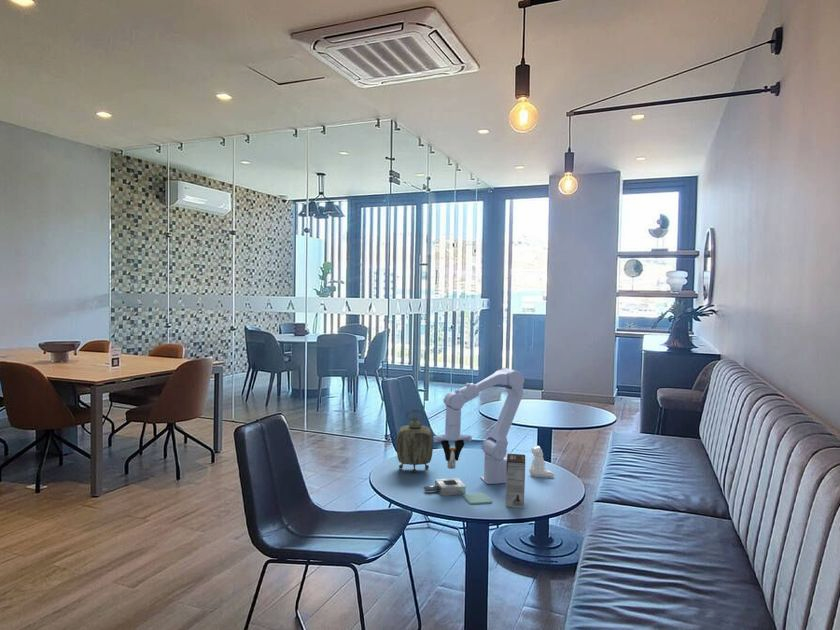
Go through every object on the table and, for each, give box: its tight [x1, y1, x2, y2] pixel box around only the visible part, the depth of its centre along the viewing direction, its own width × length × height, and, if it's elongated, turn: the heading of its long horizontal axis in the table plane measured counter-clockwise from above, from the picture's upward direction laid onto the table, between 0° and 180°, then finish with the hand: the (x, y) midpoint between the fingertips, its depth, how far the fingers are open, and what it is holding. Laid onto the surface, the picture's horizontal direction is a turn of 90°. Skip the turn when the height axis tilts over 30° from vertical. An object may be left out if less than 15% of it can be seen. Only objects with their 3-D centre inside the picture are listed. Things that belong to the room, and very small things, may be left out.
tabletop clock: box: [396, 409, 434, 474], centre depth 221 cm, size 14×9×25 cm, turn 92°
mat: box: [462, 492, 493, 506], centre depth 191 cm, size 8×8×1 cm
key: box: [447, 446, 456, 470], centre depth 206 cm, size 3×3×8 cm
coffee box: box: [505, 453, 526, 509], centre depth 189 cm, size 9×6×16 cm
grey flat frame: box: [423, 477, 467, 497], centre depth 199 cm, size 14×9×3 cm, turn 104°
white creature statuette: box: [528, 445, 555, 479], centre depth 220 cm, size 10×9×12 cm
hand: (451, 460), depth 206 cm, fingers closed on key, 3 cm apart
